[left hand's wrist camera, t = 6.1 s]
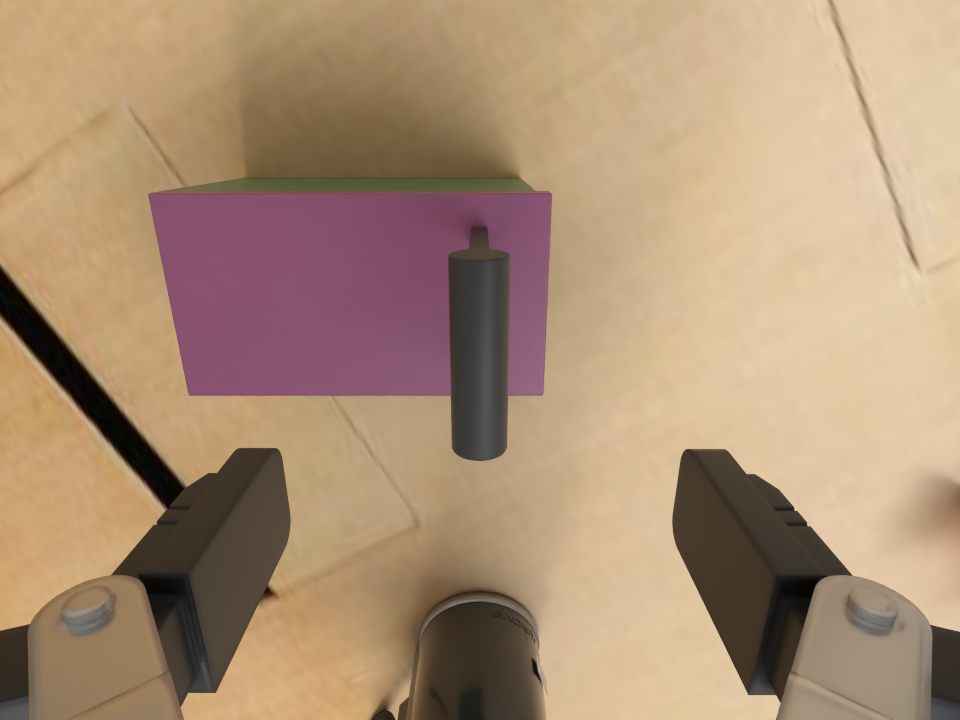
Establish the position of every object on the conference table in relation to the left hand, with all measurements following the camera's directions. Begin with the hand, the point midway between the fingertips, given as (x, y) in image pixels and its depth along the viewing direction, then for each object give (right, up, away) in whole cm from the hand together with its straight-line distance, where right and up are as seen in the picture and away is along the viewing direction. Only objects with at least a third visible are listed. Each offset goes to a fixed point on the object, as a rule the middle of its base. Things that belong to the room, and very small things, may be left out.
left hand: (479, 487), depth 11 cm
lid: (-5, +5, +14) cm, 16 cm away
